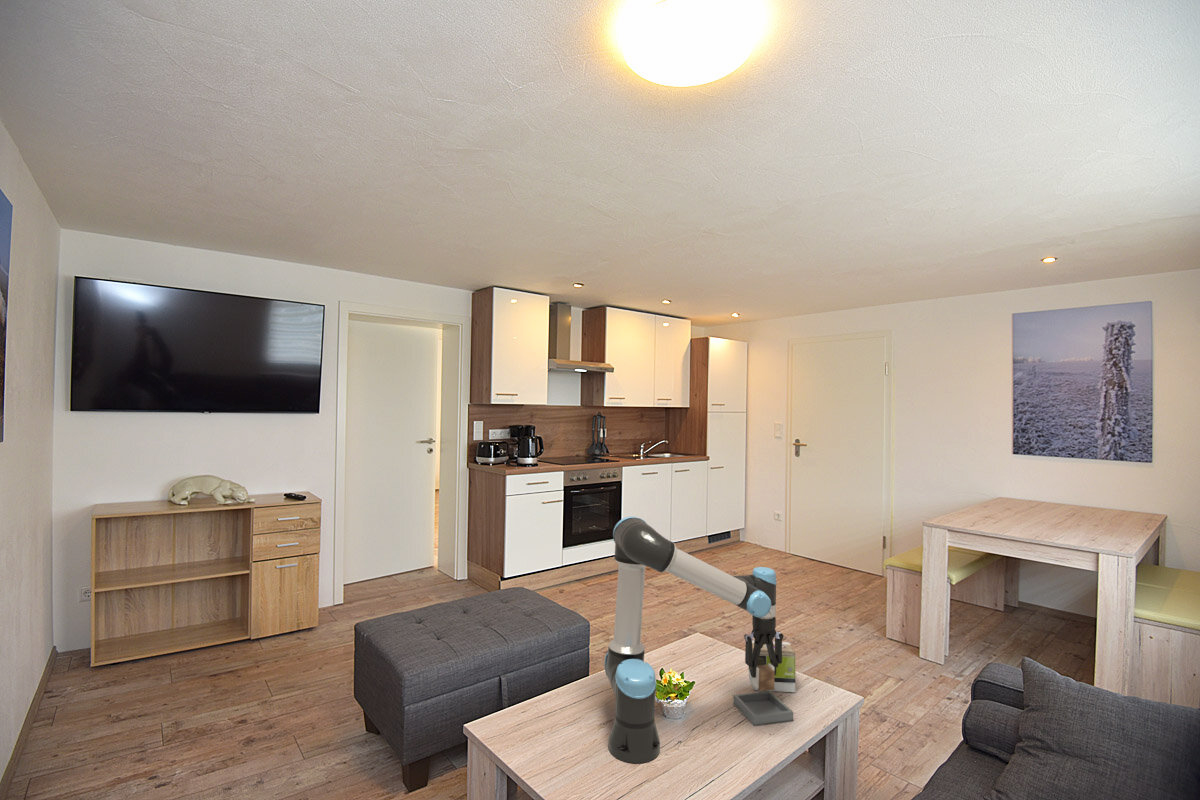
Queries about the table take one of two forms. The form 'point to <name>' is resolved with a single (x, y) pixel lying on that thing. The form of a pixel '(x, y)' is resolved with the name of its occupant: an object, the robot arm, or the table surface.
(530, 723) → the table surface
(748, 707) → the tray
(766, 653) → the tea box
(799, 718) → the table surface
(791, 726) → the table surface
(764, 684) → the walnut block
